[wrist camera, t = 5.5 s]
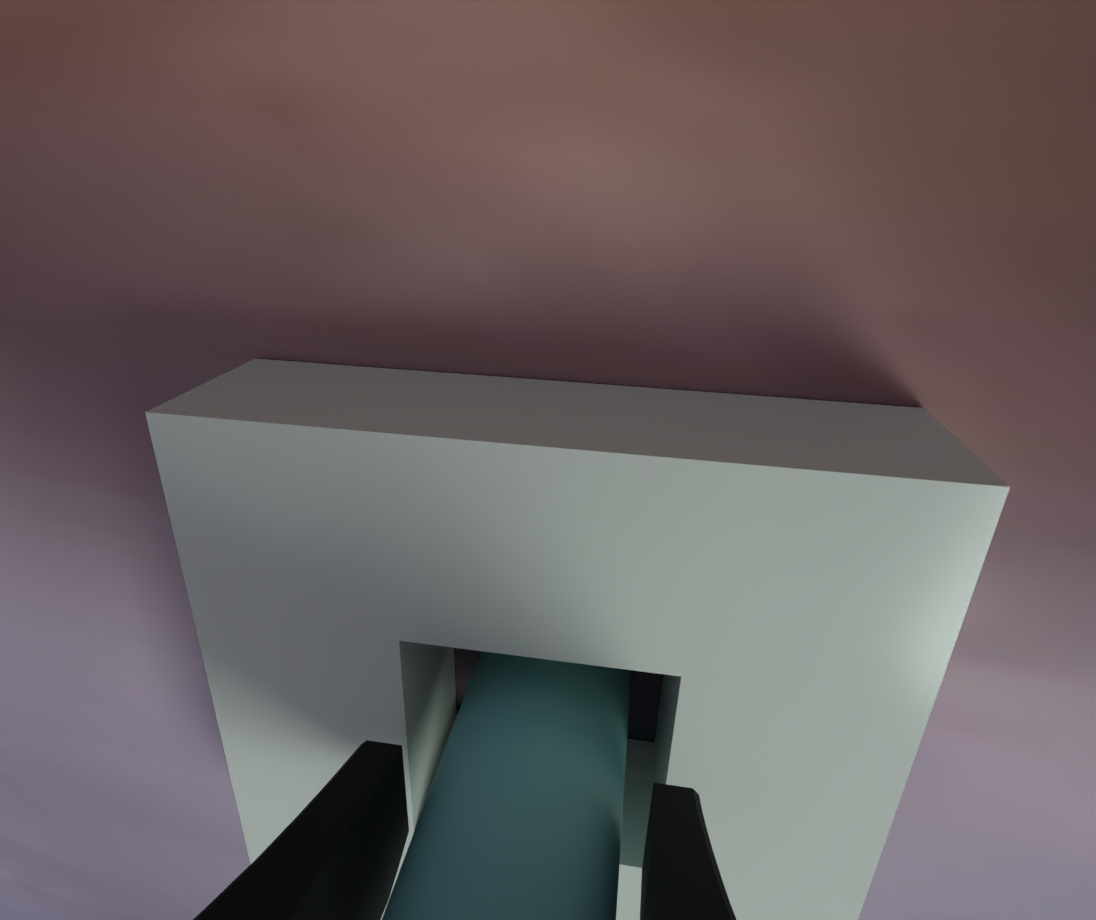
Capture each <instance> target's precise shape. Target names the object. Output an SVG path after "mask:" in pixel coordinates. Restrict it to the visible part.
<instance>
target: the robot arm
mask: <svg viewBox="0 0 1096 920" xmlns="http://www.w3.org/2000/svg"><path fill="white" fill-rule="evenodd" d="M408 833H409V824H408V812H407V800H406V788H405V776H404V764H403V752H402V745H396V744H389V743H382V742H376V741H369V740H366V741H365V742H364V743H362V744H361V745H360V746H359V747H358V748H357V749H356V751H355V752H354V753H353V754H352V755H351V756H350V758H349V759H348V760H347V761H346V762H345V763H344V765H343V766H342V767H341V768H340V769H339V770H338V771H337V773H336V774H335V775H334V776H333V777H332V778H331V779H330V781H329V782H328V783H327V784H326V785H325V786H324V787H323V788H322V789H321V791H320V792H319V793H318V794H317V795H316V796H315V797H314V798H313V799H312V801H311V802H310V803H309V804H308V805H307V806H306V807H305V808H304V809H303V810H302V812H301V813H300V814H299V815H298V816H297V817H296V818H295V819H294V820H293V821H292V822H291V823H290V824H289V825H288V826H287V827H286V828H285V829H284V830H283V832H282V833H281V834H280V835H279V836H278V837H277V838H276V839H275V840H274V841H273V842H272V843H271V844H270V845H269V846H268V847H267V848H266V849H265V850H264V851H263V852H262V854H261V855H260V856H259V857H258V858H257V859H256V860H255V861H254V862H253V863H252V864H251V865H250V866H249V867H248V868H247V869H246V870H245V871H243V872H242V873H241V874H240V875H239V876H238V877H237V878H236V879H235V880H234V881H233V882H232V883H231V884H230V885H229V886H228V887H227V888H226V889H225V890H224V891H223V892H222V893H221V894H220V895H219V896H218V897H217V898H216V899H214V900H213V901H212V902H211V903H210V904H209V905H208V906H207V907H206V908H205V909H204V910H203V911H202V912H201V913H200V914H199V915H198V916H197V917H196V918H194V919H193V920H381V917H382V915H383V912H384V910H385V907H386V905H387V902H388V900H389V897H390V893H391V890H392V887H393V884H394V880H395V877H396V874H397V871H398V867H399V864H400V860H401V857H402V853H403V850H404V846H405V843H406V840H407V836H408ZM640 920H736V917H735V915H734V912H733V909H732V907H731V904H730V901H729V898H728V895H727V892H726V890H725V887H724V884H723V881H722V878H721V874H720V871H719V868H718V865H717V862H716V859H715V856H714V852H713V849H712V846H711V842H710V839H709V835H708V832H707V828H706V824H705V820H704V816H703V812H702V807H701V802H700V797H699V794H698V793H697V792H696V791H695V790H694V789H693V788H687V787H681V786H674V785H667V784H660V783H653V789H652V797H651V804H650V812H649V819H648V827H647V834H646V842H645V850H644V857H643V865H642V880H641V903H640Z"/></svg>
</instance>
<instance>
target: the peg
mask: <svg viewBox="0 0 1096 920" xmlns="http://www.w3.org/2000/svg"><path fill="white" fill-rule="evenodd" d="M631 672H632V670H626V669H618V668H610V667H602V666H594V665H586V664H578V663H571V662H563V661H555V660H547V659H539V658H531V657H523V656H515V655H508V654H500V653H492V652H484V651H481V652H480V655H479V658H478V660H477V663H476V666H475V669H474V671H473V674H472V677H471V679H470V682H469V685H468V687H467V690H466V693H465V696H464V698H463V701H462V704H461V706H460V709H459V712H458V715H457V717H456V720H455V723H454V725H453V728H452V731H451V734H450V736H449V739H448V742H447V744H446V747H445V750H444V752H443V755H442V758H441V761H440V763H439V766H438V769H437V771H436V774H435V777H434V780H433V782H432V785H431V788H430V790H429V793H428V796H427V798H426V801H425V804H424V807H423V809H422V812H421V815H420V817H419V820H418V823H417V826H416V828H415V831H414V834H413V836H412V839H411V842H410V845H409V847H408V850H407V853H406V855H405V858H404V861H403V863H402V866H401V869H400V872H399V874H398V877H397V880H396V882H395V885H394V888H393V891H392V893H391V896H390V899H389V901H388V904H387V907H386V909H385V912H384V915H383V918H382V920H616V911H617V895H618V880H619V864H620V848H621V832H622V816H623V800H624V784H625V768H626V752H627V736H628V720H629V704H630V688H631Z"/></svg>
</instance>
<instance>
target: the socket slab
mask: <svg viewBox="0 0 1096 920" xmlns="http://www.w3.org/2000/svg"><path fill="white" fill-rule="evenodd" d="M145 414H146V419H147V423H148V427H149V431H150V436H151V440H152V444H153V448H154V453H155V457H156V461H157V466H158V470H159V474H160V478H161V483H162V487H163V491H164V495H165V500H166V504H167V508H168V512H169V517H170V521H171V525H172V530H173V534H174V538H175V542H176V547H177V551H178V555H179V559H180V564H181V568H182V572H183V577H184V581H185V585H186V589H187V594H188V598H189V602H190V606H191V611H192V615H193V619H194V623H195V628H196V632H197V636H198V641H199V645H200V649H201V653H202V658H203V662H204V666H205V670H206V675H207V679H208V683H209V687H210V692H211V696H212V700H213V705H214V709H215V713H216V717H217V722H218V726H219V730H220V734H221V739H222V743H223V747H224V751H225V756H226V760H227V764H228V769H229V773H230V777H231V781H232V786H233V790H234V794H235V798H236V803H237V807H238V811H239V815H240V820H241V824H242V828H243V833H244V837H245V841H246V845H247V850H248V854H249V858H250V862H251V864H252V863H253V862H254V861H255V860H256V859H257V858H258V857H259V856H260V855H261V854H262V852H263V851H264V850H265V849H266V848H267V847H268V846H269V845H270V844H271V843H272V842H273V841H274V840H275V839H276V838H277V837H278V836H279V835H280V834H281V833H282V832H283V830H284V829H285V828H286V827H287V826H288V825H289V824H290V823H291V822H292V821H293V820H294V819H295V818H296V817H297V816H298V815H299V814H300V813H301V812H302V810H303V809H304V808H305V807H306V806H307V805H308V804H309V803H310V802H311V801H312V799H313V798H314V797H315V796H316V795H317V794H318V793H319V792H320V791H321V789H322V788H323V787H324V786H325V785H326V784H327V783H328V782H329V781H330V779H331V778H332V777H333V776H334V775H335V774H336V773H337V771H338V770H339V769H340V768H341V767H342V766H343V765H344V763H345V762H346V761H347V760H348V759H349V758H350V756H351V755H352V754H353V753H354V752H355V751H356V749H357V748H358V747H359V746H360V745H361V744H362V743H364V742H365V741H366V740H369V741H376V742H382V743H389V744H396V745H402V752H403V764H404V776H405V788H406V800H407V812H408V824H409V833H408V836H407V840H406V843H405V846H404V850H403V853H402V857H401V860H400V864H399V867H398V871H397V874H396V877H395V880H394V884H393V887H392V890H391V893H392V891H393V888H394V885H395V882H396V880H397V877H398V874H399V872H400V869H401V866H402V863H403V861H404V858H405V855H406V853H407V850H408V847H409V845H410V842H411V839H412V836H413V834H414V831H415V828H416V826H417V823H418V820H419V817H420V815H421V812H422V809H423V807H424V804H425V801H426V798H427V796H428V793H429V790H430V788H431V785H432V782H433V780H434V777H435V774H436V771H437V769H438V766H439V763H440V761H441V758H442V755H443V752H444V750H445V747H446V744H447V742H448V739H449V736H450V734H451V731H452V728H453V725H454V723H455V720H456V717H457V714H456V687H455V660H454V648H460V649H468V650H476V651H484V652H492V653H500V654H508V655H515V656H523V657H531V658H539V659H547V660H555V661H563V662H571V663H578V664H586V665H594V666H602V667H610V668H618V669H626V670H634V671H641V672H649V673H657V674H663V681H662V689H661V697H660V705H659V712H658V720H657V728H656V736H655V742H649V741H641V740H634V739H627V752H626V768H625V784H624V800H623V816H622V832H621V848H620V864H619V880H618V895H617V911H616V920H640V903H641V880H642V865H643V857H644V850H645V842H646V834H647V827H648V819H649V812H650V804H651V797H652V789H653V783H660V784H667V785H674V786H681V787H687V788H693V789H694V790H695V791H696V792H697V793H698V794H699V797H700V802H701V807H702V812H703V816H704V820H705V824H706V828H707V832H708V835H709V839H710V842H711V846H712V849H713V852H714V856H715V859H716V862H717V865H718V868H719V871H720V874H721V878H722V881H723V884H724V887H725V890H726V892H727V895H728V898H729V901H730V904H731V907H732V909H733V912H734V915H735V917H736V920H858V918H859V915H860V912H861V909H862V907H863V904H864V901H865V898H866V895H867V892H868V890H869V887H870V884H871V881H872V878H873V875H874V873H875V870H876V867H877V864H878V861H879V858H880V855H881V853H882V850H883V847H884V844H885V841H886V838H887V836H888V833H889V830H890V827H891V824H892V821H893V818H894V816H895V813H896V810H897V807H898V804H899V801H900V799H901V796H902V793H903V790H904V787H905V784H906V782H907V779H908V776H909V773H910V770H911V767H912V764H913V762H914V759H915V756H916V753H917V750H918V747H919V745H920V742H921V739H922V736H923V733H924V730H925V728H926V725H927V722H928V719H929V716H930V713H931V710H932V708H933V705H934V702H935V699H936V696H937V693H938V691H939V688H940V685H941V682H942V679H943V676H944V673H945V671H946V668H947V665H948V662H949V659H950V656H951V654H952V651H953V648H954V645H955V642H956V639H957V637H958V634H959V631H960V628H961V625H962V622H963V619H964V617H965V614H966V611H967V608H968V605H969V602H970V600H971V597H972V594H973V591H974V588H975V585H976V583H977V580H978V577H979V574H980V571H981V568H982V565H983V563H984V560H985V557H986V554H987V551H988V548H989V546H990V543H991V540H992V537H993V534H994V531H995V528H996V526H997V523H998V520H999V517H1000V514H1001V511H1002V509H1003V506H1004V503H1005V500H1006V497H1007V494H1008V492H1009V489H1010V487H1009V486H1008V485H1007V484H1006V483H1005V482H1004V481H1003V480H1002V479H1001V478H1000V477H999V476H998V475H996V474H995V473H994V472H993V471H992V470H991V469H990V468H989V467H988V466H987V465H986V464H985V463H983V462H982V461H981V460H980V459H979V458H978V457H977V456H976V455H975V454H974V453H973V452H972V451H971V450H969V449H968V448H967V447H966V446H965V445H964V444H963V443H962V442H961V441H960V440H959V439H958V438H957V437H955V436H954V435H953V434H952V433H951V432H950V431H949V430H948V429H947V428H946V427H945V426H944V425H942V424H941V423H940V422H939V421H938V420H937V419H936V418H935V417H934V416H933V415H932V414H931V413H930V412H928V411H927V410H926V409H925V408H917V407H903V406H890V405H876V404H863V403H849V402H835V401H822V400H808V399H795V398H781V397H768V396H754V395H741V394H727V393H714V392H700V391H687V390H673V389H659V388H646V387H632V386H619V385H605V384H592V383H578V382H565V381H551V380H538V379H524V378H511V377H497V376H483V375H470V374H456V373H443V372H429V371H416V370H402V369H389V368H375V367H362V366H348V365H335V364H321V363H307V362H294V361H280V360H267V359H253V360H251V361H249V362H247V363H245V364H243V365H241V366H239V367H237V368H235V369H233V370H231V371H229V372H227V373H225V374H222V375H220V376H218V377H216V378H214V379H212V380H210V381H208V382H206V383H204V384H202V385H200V386H198V387H196V388H194V389H192V390H190V391H188V392H185V393H183V394H181V395H179V396H177V397H175V398H173V399H171V400H169V401H167V402H165V403H163V404H161V405H159V406H157V407H155V408H153V409H151V410H148V411H146V412H145ZM391 893H390V896H391ZM389 899H390V897H389ZM388 901H389V900H388ZM387 904H388V902H387ZM386 907H387V905H386ZM386 907H385V909H386ZM384 912H385V910H384ZM384 912H383V915H384ZM383 915H382V917H381V920H382V918H383Z"/></svg>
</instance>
